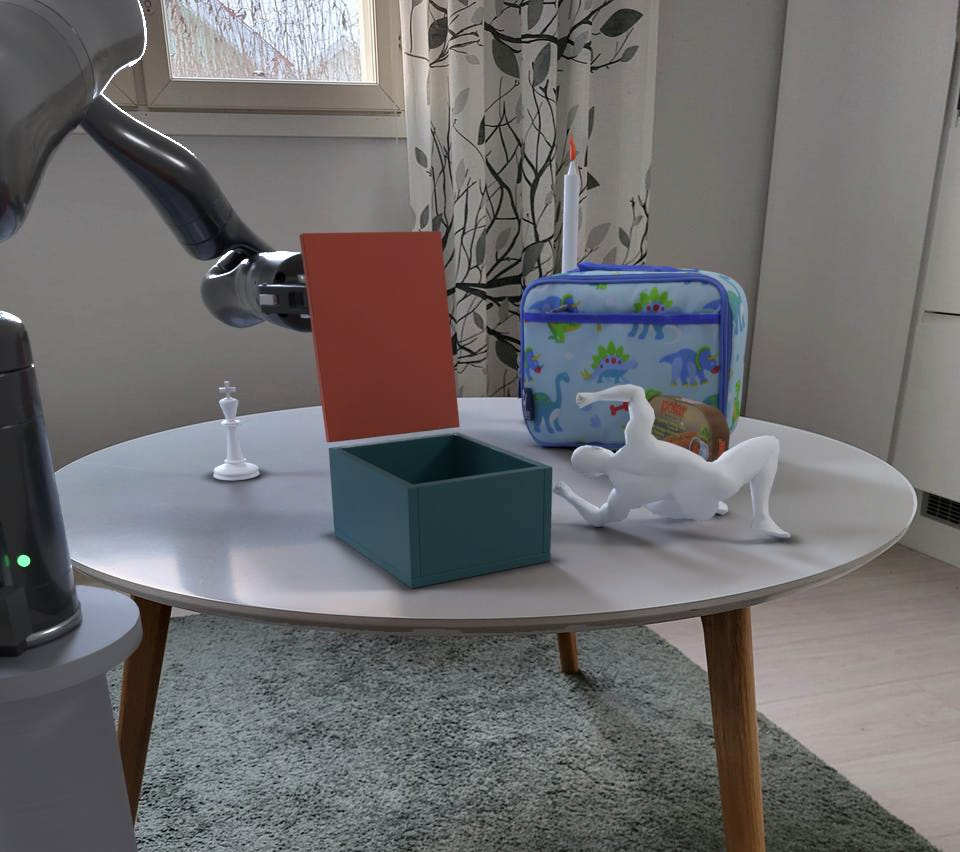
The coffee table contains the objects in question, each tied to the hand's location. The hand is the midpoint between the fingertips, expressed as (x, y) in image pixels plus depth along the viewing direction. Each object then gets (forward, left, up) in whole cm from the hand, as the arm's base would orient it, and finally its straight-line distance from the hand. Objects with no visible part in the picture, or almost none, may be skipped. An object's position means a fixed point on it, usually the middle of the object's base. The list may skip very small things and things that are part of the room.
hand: (357, 302), depth 86 cm
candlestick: (+43, -19, -19) cm, 51 cm away
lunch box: (+28, -26, -19) cm, 43 cm away
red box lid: (-5, -3, -2) cm, 6 cm away
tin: (+13, -31, -19) cm, 39 cm away
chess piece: (+12, +17, -19) cm, 28 cm away
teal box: (-12, -8, -19) cm, 24 cm away
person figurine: (-6, -28, -19) cm, 35 cm away
